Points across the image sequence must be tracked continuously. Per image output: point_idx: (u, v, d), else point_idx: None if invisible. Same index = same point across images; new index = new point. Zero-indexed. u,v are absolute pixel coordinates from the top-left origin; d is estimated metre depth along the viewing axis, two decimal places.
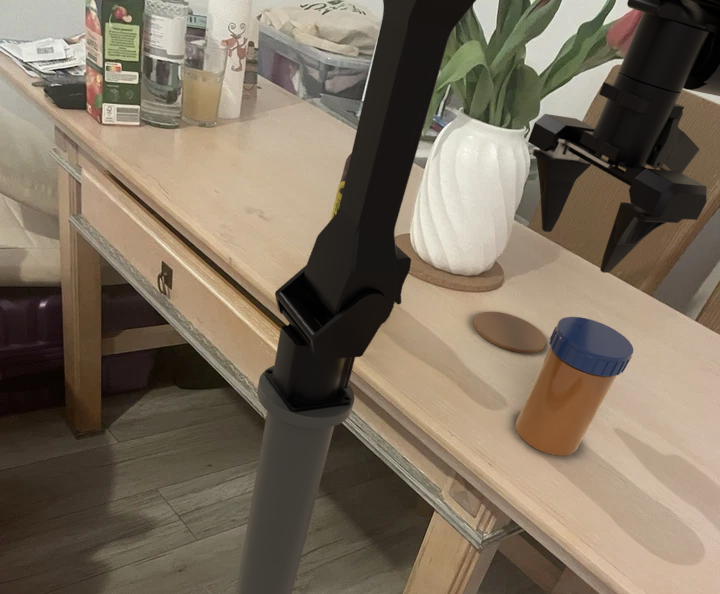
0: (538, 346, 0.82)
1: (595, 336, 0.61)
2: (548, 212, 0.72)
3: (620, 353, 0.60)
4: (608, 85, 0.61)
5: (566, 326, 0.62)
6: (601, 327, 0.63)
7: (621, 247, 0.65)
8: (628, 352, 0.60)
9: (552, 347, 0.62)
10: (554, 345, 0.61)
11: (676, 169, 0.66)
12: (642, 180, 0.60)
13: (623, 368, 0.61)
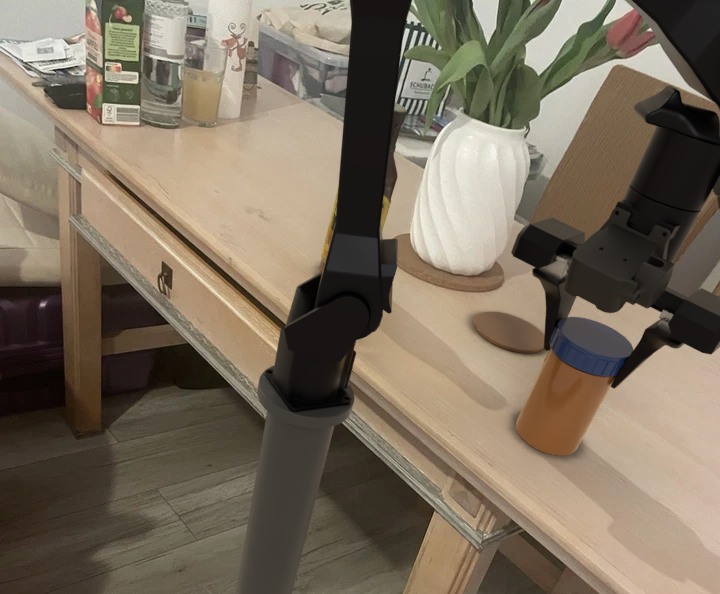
0: (538, 346, 0.82)
1: (595, 336, 0.61)
2: None
3: (620, 353, 0.60)
4: None
5: (566, 326, 0.62)
6: (601, 327, 0.63)
7: None
8: (628, 352, 0.60)
9: (552, 347, 0.62)
10: (554, 345, 0.61)
11: None
12: None
13: None
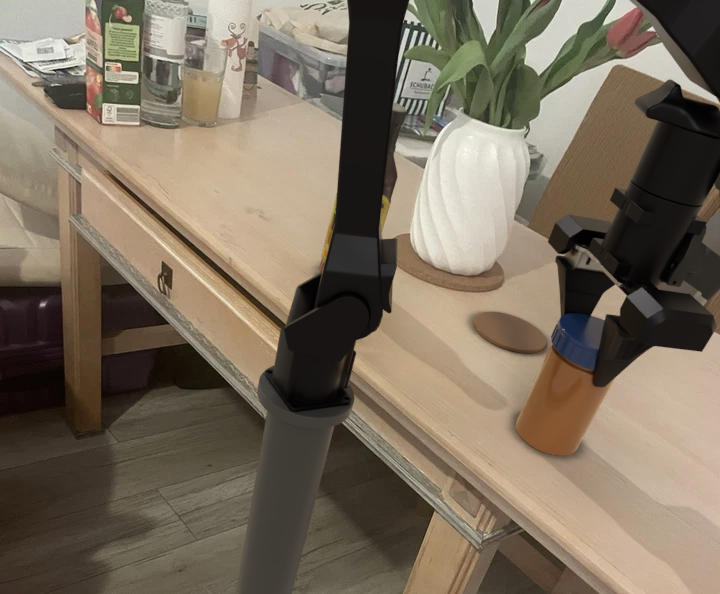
0: (538, 346, 0.82)
1: (597, 332, 0.61)
2: None
3: (591, 318, 0.63)
4: (618, 191, 0.55)
5: None
6: (576, 332, 0.60)
7: (611, 362, 0.58)
8: (579, 314, 0.63)
9: None
10: None
11: (705, 289, 0.57)
12: (632, 300, 0.52)
13: None
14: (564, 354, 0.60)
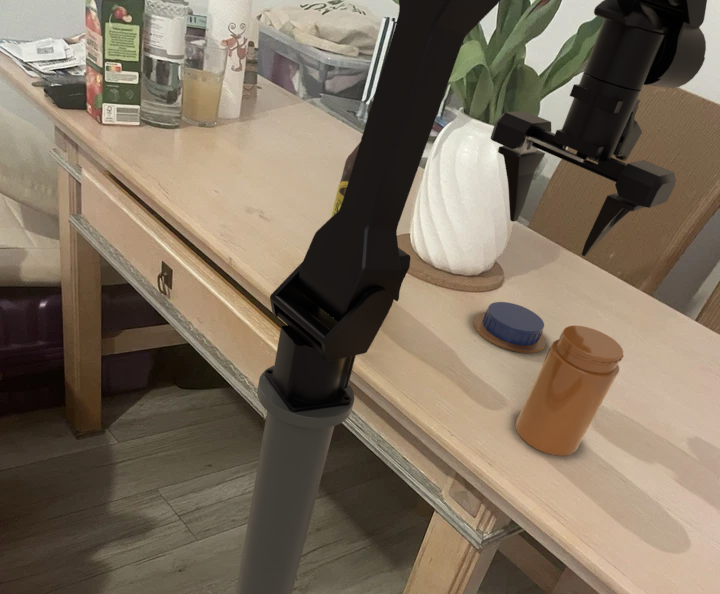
0: (538, 346, 0.82)
1: (516, 316, 0.83)
2: (517, 204, 0.76)
3: (500, 304, 0.84)
4: (579, 87, 0.66)
5: (537, 323, 0.82)
6: (510, 322, 0.81)
7: (603, 233, 0.72)
8: (493, 304, 0.84)
9: None
10: None
11: (627, 153, 0.74)
12: (628, 175, 0.66)
13: None
14: (508, 340, 0.81)
